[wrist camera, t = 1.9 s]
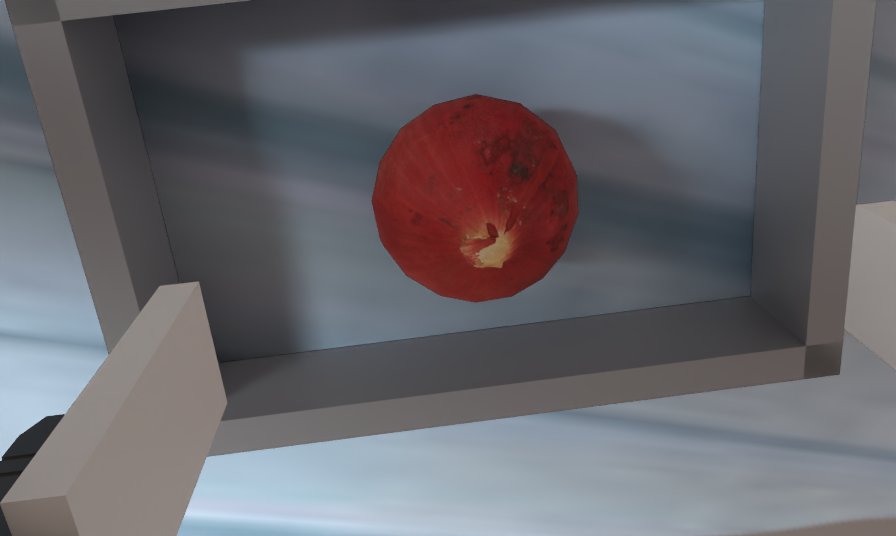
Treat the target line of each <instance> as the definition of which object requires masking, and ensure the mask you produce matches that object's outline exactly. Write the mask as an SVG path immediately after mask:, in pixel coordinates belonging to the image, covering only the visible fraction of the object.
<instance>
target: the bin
mask: <svg viewBox="0 0 896 536" xmlns="http://www.w3.org/2000/svg"><path fill="white" fill-rule="evenodd" d="M240 1H249V0H5V3H6V7H7V10H8V14H9V17H10V20H11V24H12V27H13V31H14V34H15V37H16V41H17V44H18V47H19V51H20V54H21V58H22V61H23V64H24V68H25V71H26V75H27V78H28V81H29V85H30V88H31V92H32V95H33V98H34V102H35V105H36V109H37V112H38V115H39V119H40V122H41V126H42V129H43V132H44V136H45V139H46V143H47V146H48V149H49V153H50V156H51V160H52V163H53V166H54V170H55V173H56V177H57V180H58V183H59V187H60V190H61V194H62V197H63V200H64V204H65V207H66V211H67V214H68V217H69V221H70V224H71V227H72V231H73V234H74V238H75V241H76V244H77V248H78V251H79V255H80V258H81V261H82V265H83V268H84V272H85V275H86V278H87V282H88V285H89V289H90V292H91V295H92V299H93V302H94V306H95V309H96V312H97V316H98V319H99V323H100V326H101V329H102V333H103V336H104V340H105V343H106V346H107V350H108V353H109V354H110V353H111V351H112V350H113V349H114V347H115V346H116V345H117V343H118V342H119V341H120V339H121V338H122V336H123V335H124V334H125V332H126V331H127V330H128V328H129V327H130V326H131V324H132V323H133V322H134V320H135V319H136V317H137V316H138V315H139V313H140V312H141V311H142V309H143V308H144V307H145V305H146V304H147V303H148V301H149V300H150V298H151V297H152V296H153V294H154V293H155V292H156V290H157V289H158V288H159V286H164V285H172V284H179V280H178V276H177V272H176V268H175V264H174V260H173V256H172V252H171V248H170V244H169V240H168V236H167V232H166V228H165V224H164V220H163V216H162V212H161V208H160V204H159V200H158V196H157V192H156V187H155V183H154V179H153V175H152V171H151V167H150V163H149V159H148V155H147V151H146V147H145V143H144V139H143V135H142V131H141V127H140V123H139V119H138V115H137V111H136V107H135V103H134V98H133V94H132V90H131V86H130V82H129V78H128V74H127V70H126V66H125V62H124V58H123V54H122V50H121V46H120V42H119V38H118V34H117V30H116V26H115V22H114V18H113V15H121V14H130V13H139V12H148V11H157V10H167V9H176V8H185V7H194V6H203V5H213V4H222V3H231V2H240ZM875 10H876V0H765V5H764V26H763V47H762V67H761V88H760V109H759V130H758V150H757V171H756V192H755V213H754V233H753V254H752V275H751V296H747V297H739V298H731V299H723V300H715V301H707V302H699V303H691V304H684V305H676V306H668V307H660V308H652V309H644V310H636V311H628V312H620V313H612V314H604V315H596V316H588V317H580V318H572V319H564V320H556V321H548V322H540V323H532V324H524V325H516V326H509V327H501V328H493V329H485V330H477V331H469V332H461V333H453V334H445V335H437V336H429V337H421V338H413V339H405V340H397V341H389V342H381V343H373V344H365V345H357V346H349V347H341V348H334V349H326V350H318V351H310V352H302V353H294V354H286V355H278V356H270V357H262V358H254V359H246V360H238V361H230V362H222V363H218V365H219V369H220V373H221V378H222V382H223V386H224V390H225V395H226V399H227V405H226V408H225V410H224V413H223V416H222V418H221V421H220V423H219V426H218V429H217V431H216V434H215V436H214V439H213V442H212V444H211V447H210V449H209V452H208V455H207V457H209V456H216V455H224V454H232V453H239V452H247V451H255V450H262V449H270V448H278V447H285V446H293V445H301V444H308V443H316V442H324V441H332V440H339V439H347V438H355V437H362V436H370V435H378V434H385V433H393V432H401V431H408V430H416V429H424V428H431V427H439V426H447V425H455V424H462V423H470V422H478V421H485V420H493V419H501V418H508V417H516V416H524V415H531V414H539V413H547V412H554V411H562V410H570V409H578V408H585V407H593V406H601V405H608V404H616V403H624V402H631V401H639V400H647V399H654V398H662V397H670V396H677V395H685V394H693V393H701V392H708V391H716V390H724V389H731V388H739V387H747V386H754V385H762V384H770V383H777V382H785V381H793V380H800V379H808V378H816V377H824V376H831V375H839V374H840V365H841V355H842V345H843V335H844V325H845V315H846V304H847V294H848V284H849V273H850V263H851V252H852V242H853V231H854V221H855V210H856V203H857V193H858V183H859V172H860V162H861V152H862V142H863V132H864V122H865V112H866V101H867V91H868V81H869V71H870V61H871V51H872V41H873V30H874V20H875Z"/></svg>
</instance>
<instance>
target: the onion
mask: <svg viewBox="0 0 896 536" xmlns="http://www.w3.org/2000/svg"><path fill="white" fill-rule="evenodd" d="M372 205H373V210H374V214H375V219H376V223H377V228H378V232H379V237H380V240H381V242H382V243H383V245H384V247H385V248H386V250H387V251H388V252H389V253H390V255H391V256H392V257H393V259H394V260H395V261H396V263H397V264H398V265H399V267H400V268H401V269H402V271H403V272H404V273H405V274H406V276H408V277H410V278H411V279H413V280H415V281H416V282H418V283H420V284H421V285H423V286H425V287H426V288H428V289H430V290H432V291H433V292H435V293H437V294H439V295H441V296H445V297H450V298H455V299H460V300H465V301H471V302H482V301H488V300H494V299H500V298H505V297H511V296H513V295H515V294H517V293H519V292H520V291H522V290H524V289H525V288H527V287H529V286H531V285H532V284H534V283H536V282H537V281H539V280H541V279H543V278H544V276H545V275H546V274H547V273H548V272H549V270H550V269H551V268H552V267H553V265H554V264H555V263H556V262H557V261H558V259H559V258H560V257H561V256H562V255H563V253H564V252H565V250H566V247H567V244H568V241H569V238H570V235H571V232H572V229H573V226H574V224H575V221H576V219H577V216H578V193H577V175H576V172H575V170H574V168H573V166H572V164H571V161H570V159H569V157H568V155H567V153H566V151H565V149H564V147H563V145H562V143H561V141H560V139H559V136H558V134H557V132H556V130H555V129H553V128H552V127H551V126H549V125H548V124H547V123H545V122H544V121H543V120H542V119H540V118H539V117H538V116H536V115H535V114H534V113H532V112H531V111H530V110H528V109H527V108H526V107H524V106H523V105H522V104H520V103H516V102H511V101H506V100H501V99H496V98H491V97H487V96H482V95H477V94H475V95H471V96H467V97H463V98H459V99H455V100H451V101H447V102H443V103H439V104H435V105H433V106H432V107H430V108H429V109H428V110H426V111H425V112H423V113H422V114H421V115H419V116H418V117H416V118H415V119H414V120H412V121H411V122H410V123H408V124H407V125H405V126H404V127H403V128H401V129H400V131H399V132H398V134H397V136H396V137H395V139H394V140H393V142H392V144H391V145H390V147H389V148H388V150H387V152H386V153H385V155H384V156H383V158H382V160H381V161H380V163H379V168H378V173H377V178H376V182H375V187H374V192H373V197H372Z"/></svg>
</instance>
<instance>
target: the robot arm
mask: <svg viewBox="0 0 896 536" xmlns="http://www.w3.org/2000/svg"><path fill="white" fill-rule="evenodd" d="M844 329H845V330H846V331H848V332H849V333H850V334H851V335H853V336H854V337H855V338H856V339H857V340H859V341H860V342H861V343H862V344H864V345H865V346H866V347H867V348H869V349H870V350H871V351H872V352H874V353H875V354H876V355H877V356H879V357H880V358H881V359H882V360H884V361H885V362H886V363H887V364H888V365H890V366H891V367H892V368H893V369H895V370H896V201H886V202H877V203H868V204H860V205H856V210H855V221H854V231H853V242H852V252H851V263H850V273H849V284H848V294H847V305H846V315H845V326H844ZM226 405H227V399H226V395H225V390H224V386H223V382H222V378H221V373H220V369H219V365H218V361H217V356H216V352H215V348H214V344H213V339H212V335H211V331H210V327H209V322H208V318H207V314H206V310H205V305H204V301H203V297H202V293H201V288H200V284H199V281H198V282H189V283H181V284H172V285H164V286H159V288H158V289H157V290H156V292H155V293H154V294H153V296H152V297H151V298H150V300H149V301H148V303H147V304H146V305H145V307H144V308H143V309H142V311H141V312H140V313H139V315H138V316H137V317H136V319H135V320H134V322H133V323H132V324H131V326H130V327H129V328H128V330H127V331H126V332H125V334H124V335H123V336H122V338H121V339H120V341H119V342H118V343H117V345H116V346H115V347H114V349H113V350H112V351H111V353H110V354H109V355H108V357H107V358H106V360H105V361H104V362H103V364H102V365H101V366H100V368H99V369H98V370H97V372H96V373H95V375H94V376H93V377H92V379H91V380H90V381H89V383H88V384H87V385H86V387H85V388H84V389H83V391H82V392H81V394H80V395H79V396H78V398H77V399H76V400H75V402H74V403H73V404H72V406H71V407H70V408H69V410H68V411H67V413H66V414H63V415H54V416H46V417H45V418H43V419H42V420H41V421H39V422H38V423H37V424H35V425H34V426H32V427H31V428H30V429H28V430H27V431H25V432H24V433H23V434H21V435H20V436H19V437H18V438H17V439H16V440H15V442H14V443H13V444H12V445H11V447H10V448H9V449H8V450H7V452H6V453H5V454H4V455H3V457H2V461H0V536H176V535H177V533H178V530H179V528H180V525H181V522H182V520H183V517H184V515H185V512H186V509H187V507H188V504H189V501H190V499H191V496H192V494H193V491H194V488H195V486H196V483H197V481H198V478H199V475H200V473H201V470H202V468H203V465H204V462H205V460H206V457H207V455H208V452H209V449H210V447H211V444H212V442H213V439H214V436H215V434H216V431H217V429H218V426H219V423H220V421H221V418H222V416H223V413H224V410H225V408H226Z"/></svg>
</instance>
